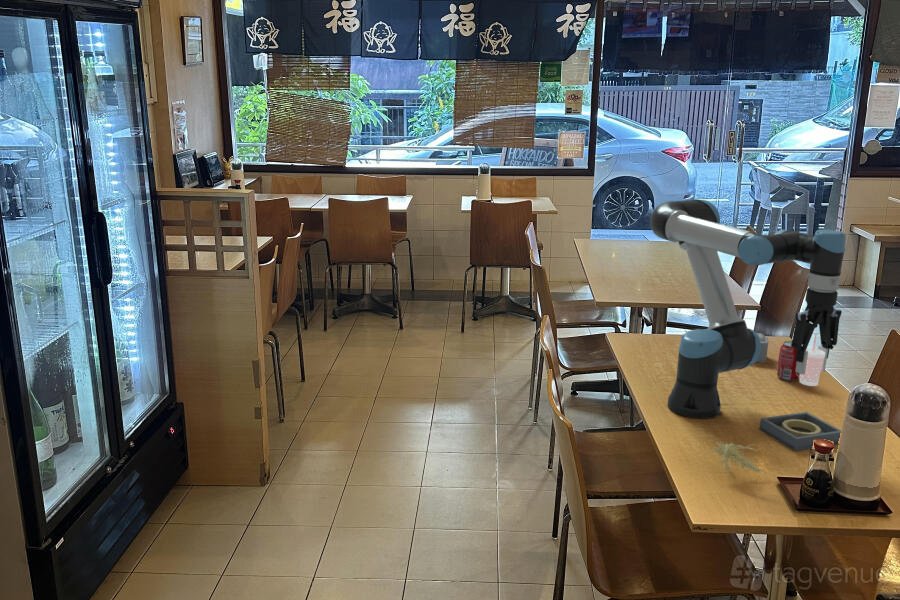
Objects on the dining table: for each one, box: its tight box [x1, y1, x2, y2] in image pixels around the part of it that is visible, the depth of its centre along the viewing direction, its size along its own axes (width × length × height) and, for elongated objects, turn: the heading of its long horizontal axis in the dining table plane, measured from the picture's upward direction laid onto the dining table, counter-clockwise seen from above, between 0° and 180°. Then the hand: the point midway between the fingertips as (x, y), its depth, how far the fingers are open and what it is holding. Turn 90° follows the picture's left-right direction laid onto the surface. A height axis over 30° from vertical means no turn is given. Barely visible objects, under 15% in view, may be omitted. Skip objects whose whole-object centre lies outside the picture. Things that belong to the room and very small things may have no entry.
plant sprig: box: [713, 436, 768, 483], centre depth 201 cm, size 11×15×9 cm
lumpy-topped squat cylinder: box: [755, 332, 769, 363], centre depth 288 cm, size 10×13×9 cm
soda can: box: [776, 340, 800, 382], centre depth 267 cm, size 7×7×12 cm
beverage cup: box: [799, 333, 825, 387], centre depth 219 cm, size 6×6×14 cm
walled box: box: [758, 411, 841, 452], centre depth 224 cm, size 16×14×4 cm
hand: (810, 371), depth 220 cm, fingers closed on beverage cup, 6 cm apart
